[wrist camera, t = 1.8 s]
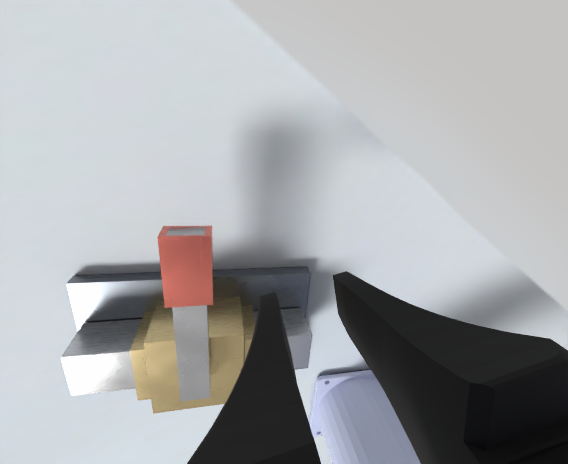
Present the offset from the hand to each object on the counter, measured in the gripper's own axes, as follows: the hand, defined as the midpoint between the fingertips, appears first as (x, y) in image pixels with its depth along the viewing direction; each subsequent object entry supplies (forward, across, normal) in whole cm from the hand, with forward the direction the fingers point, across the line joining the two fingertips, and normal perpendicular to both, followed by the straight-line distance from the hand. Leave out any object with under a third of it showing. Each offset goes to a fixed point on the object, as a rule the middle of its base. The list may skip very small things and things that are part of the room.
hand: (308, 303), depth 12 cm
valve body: (+9, +7, +6) cm, 13 cm away
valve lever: (+4, +6, +2) cm, 7 cm away
